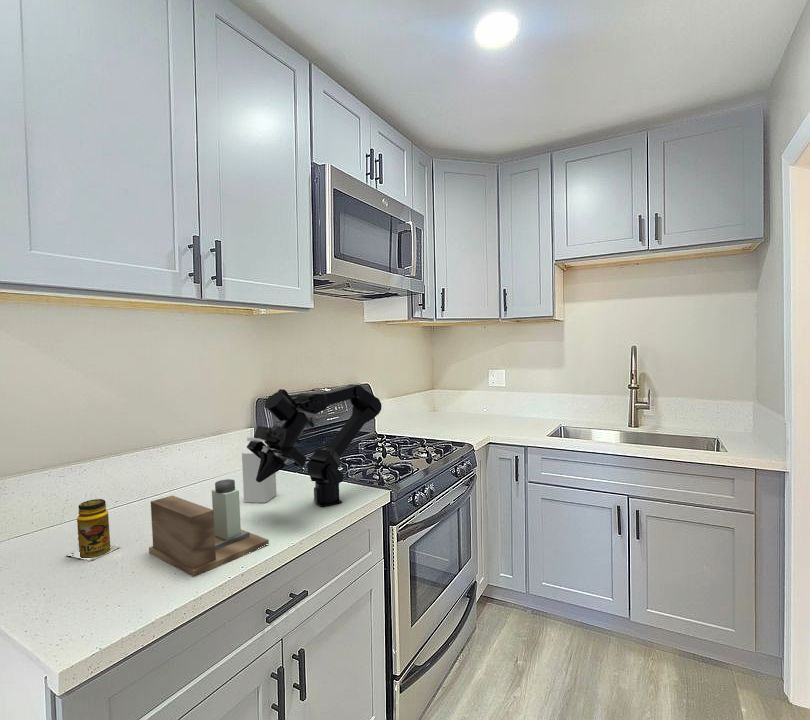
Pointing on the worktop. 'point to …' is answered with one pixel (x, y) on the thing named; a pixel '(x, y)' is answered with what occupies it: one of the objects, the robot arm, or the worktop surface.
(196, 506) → the knob mount
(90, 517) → the condiment
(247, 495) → the milk carton
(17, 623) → the worktop surface
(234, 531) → the pale green capped bottle
